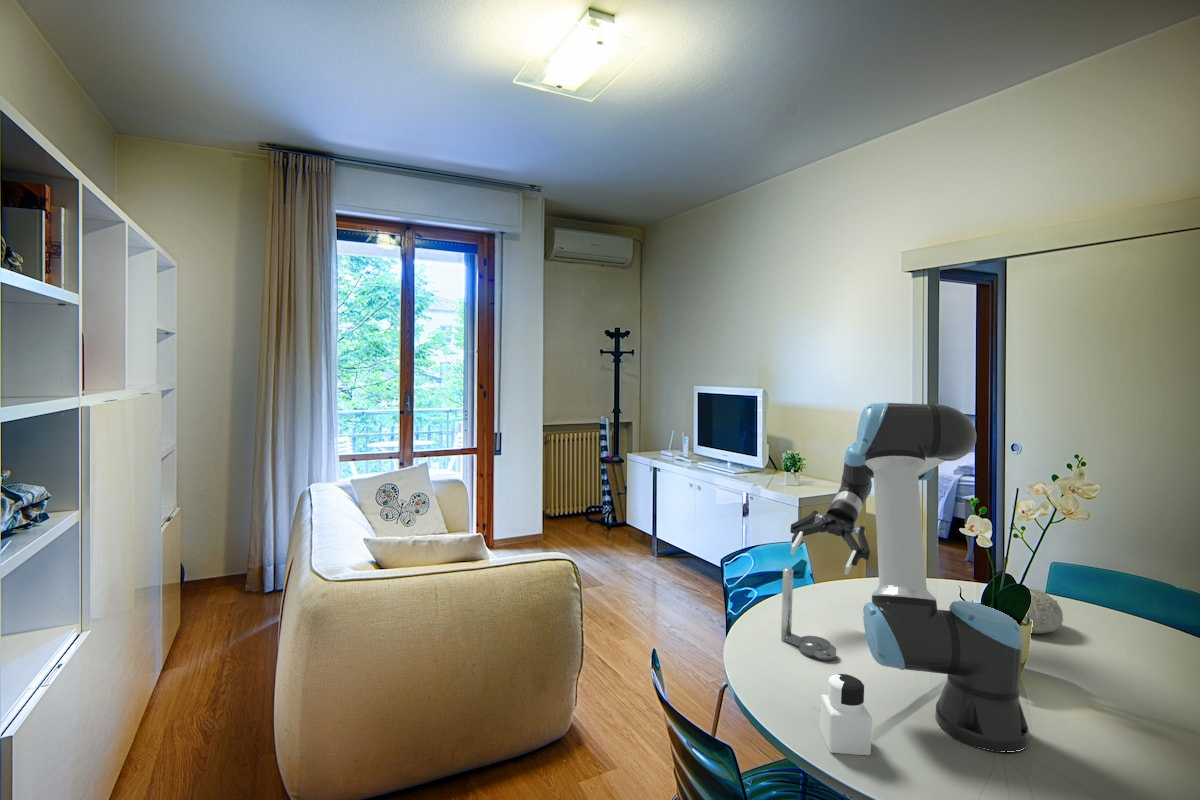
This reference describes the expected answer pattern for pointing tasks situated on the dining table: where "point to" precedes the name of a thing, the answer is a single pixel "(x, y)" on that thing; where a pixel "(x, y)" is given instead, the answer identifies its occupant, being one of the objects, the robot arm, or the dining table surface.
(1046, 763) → the dining table surface
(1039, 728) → the dining table surface
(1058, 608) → the grey rock
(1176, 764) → the dining table surface
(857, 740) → the medicine bottle
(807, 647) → the crank handle
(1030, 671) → the dining table surface
